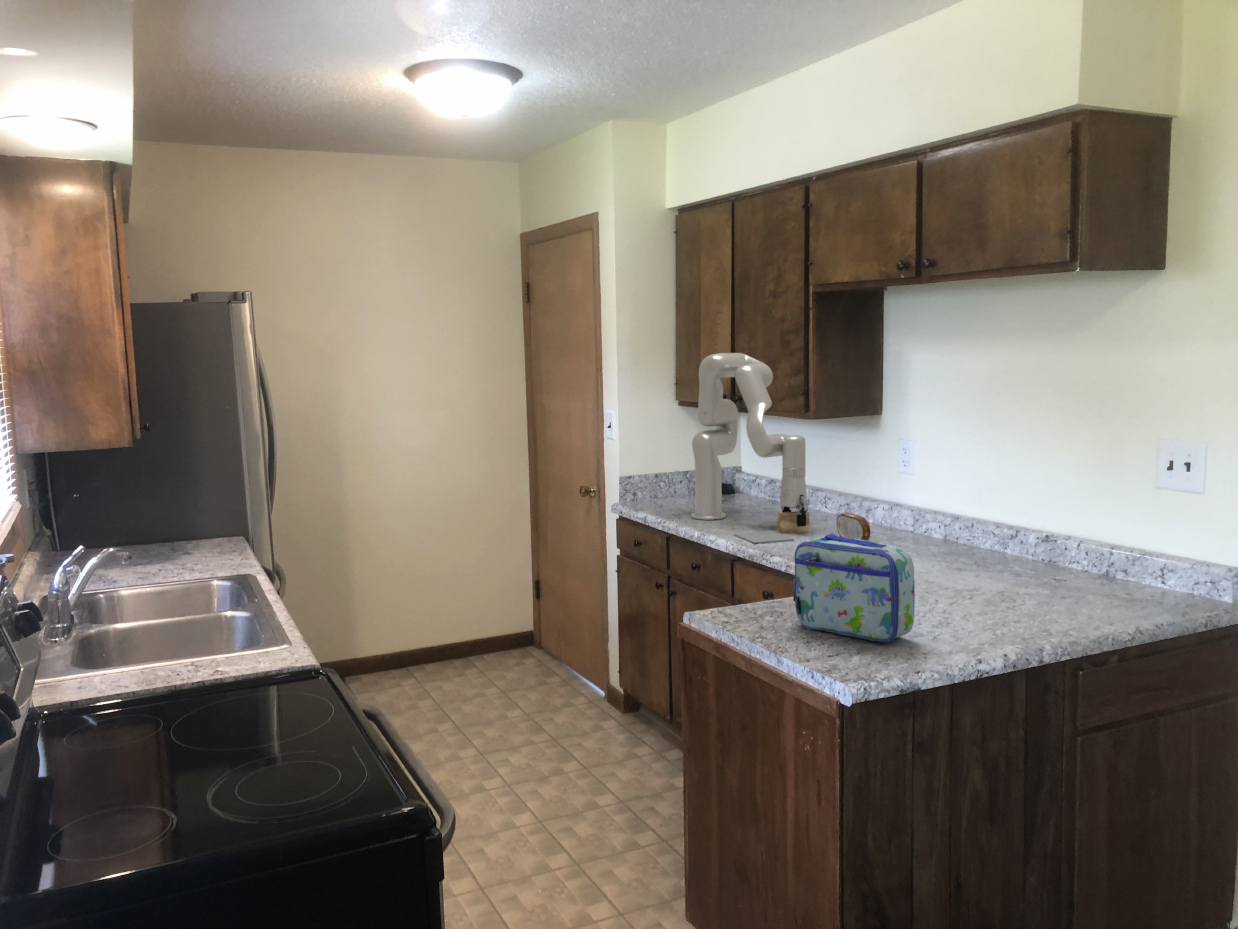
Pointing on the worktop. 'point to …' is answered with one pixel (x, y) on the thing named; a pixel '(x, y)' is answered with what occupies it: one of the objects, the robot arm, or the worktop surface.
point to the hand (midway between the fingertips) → (793, 523)
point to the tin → (853, 526)
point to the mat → (764, 537)
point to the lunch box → (854, 588)
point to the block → (790, 523)
